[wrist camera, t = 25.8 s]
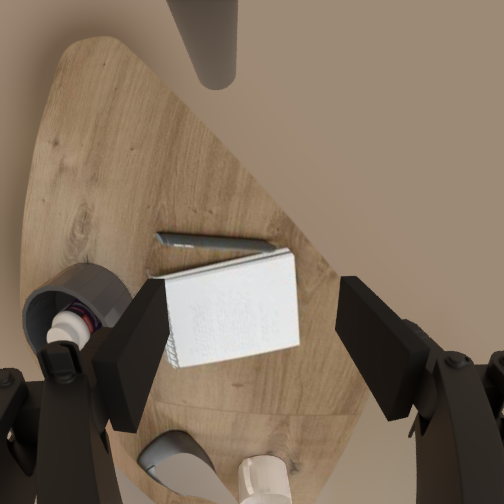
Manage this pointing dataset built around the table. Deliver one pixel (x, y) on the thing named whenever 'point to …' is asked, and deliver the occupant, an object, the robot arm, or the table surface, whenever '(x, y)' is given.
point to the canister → (68, 288)
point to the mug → (263, 481)
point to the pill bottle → (74, 324)
